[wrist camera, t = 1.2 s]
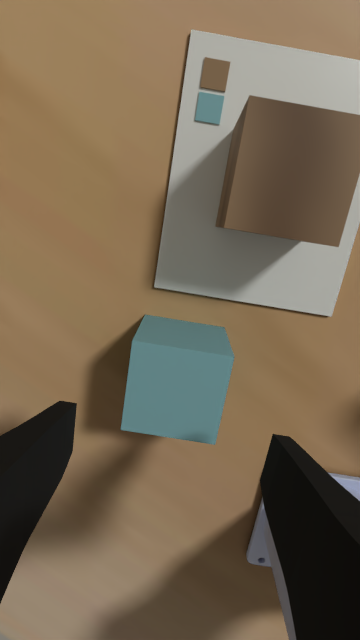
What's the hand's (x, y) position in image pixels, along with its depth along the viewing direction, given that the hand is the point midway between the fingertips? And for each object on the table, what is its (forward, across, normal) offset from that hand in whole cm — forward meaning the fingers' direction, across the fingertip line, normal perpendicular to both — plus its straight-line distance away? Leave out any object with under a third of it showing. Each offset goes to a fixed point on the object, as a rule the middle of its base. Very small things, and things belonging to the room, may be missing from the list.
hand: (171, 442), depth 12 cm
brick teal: (+8, 0, 0) cm, 8 cm away
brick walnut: (+8, -3, -10) cm, 13 cm away
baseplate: (+8, -3, -10) cm, 13 cm away
